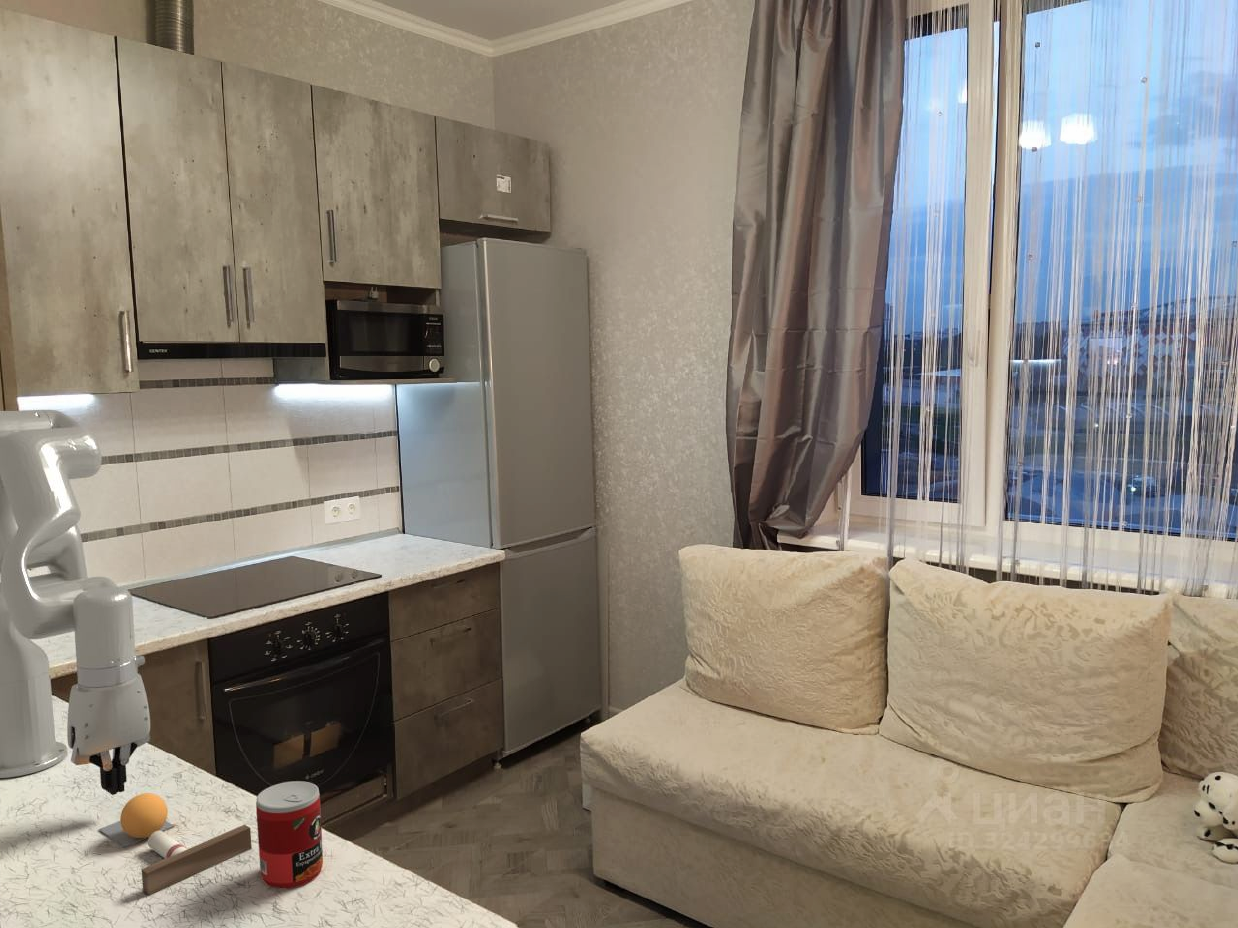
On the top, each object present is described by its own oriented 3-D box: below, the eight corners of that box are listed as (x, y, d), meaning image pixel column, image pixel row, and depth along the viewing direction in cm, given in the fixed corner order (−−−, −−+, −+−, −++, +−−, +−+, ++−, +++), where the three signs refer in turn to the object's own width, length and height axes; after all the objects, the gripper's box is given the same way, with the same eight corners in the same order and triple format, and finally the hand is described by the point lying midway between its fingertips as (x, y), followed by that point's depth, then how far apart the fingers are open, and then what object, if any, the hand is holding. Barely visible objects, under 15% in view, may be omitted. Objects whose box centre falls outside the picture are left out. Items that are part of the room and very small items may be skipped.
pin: (143, 842, 124) (170, 863, 119) (157, 826, 125) (185, 846, 120) (155, 852, 125) (183, 872, 120) (169, 836, 127) (197, 856, 121)
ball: (132, 821, 124) (131, 854, 126) (176, 802, 128) (174, 834, 130) (113, 795, 127) (112, 827, 129) (156, 778, 131) (154, 809, 134)
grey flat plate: (99, 830, 131) (98, 828, 131) (148, 811, 136) (148, 809, 136) (124, 847, 126) (124, 845, 126) (174, 826, 131) (174, 825, 131)
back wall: (143, 891, 115) (141, 869, 115) (245, 844, 126) (244, 824, 126) (148, 895, 114) (147, 873, 114) (251, 848, 125) (250, 827, 125)
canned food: (304, 892, 114) (299, 810, 113) (247, 886, 116) (242, 805, 115) (334, 860, 122) (330, 782, 120) (281, 854, 123) (276, 778, 122)
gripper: (147, 653, 140) (153, 765, 143) (40, 680, 128) (48, 801, 131) (170, 664, 136) (176, 779, 138) (62, 693, 124) (70, 818, 126)
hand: (114, 790), depth 134 cm, fingers closed
